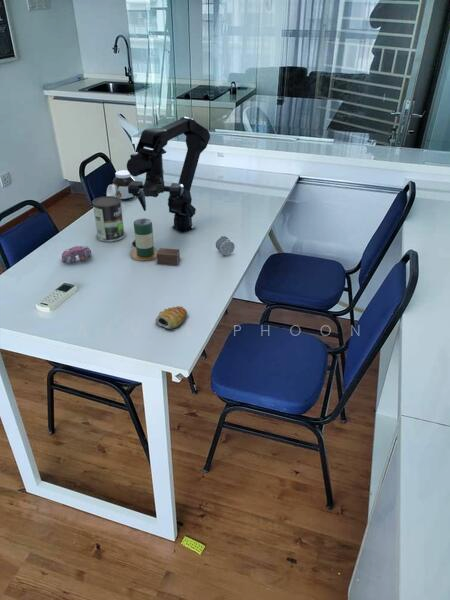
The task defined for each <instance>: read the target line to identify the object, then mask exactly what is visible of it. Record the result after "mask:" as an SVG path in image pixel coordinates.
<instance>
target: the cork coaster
mask: <svg viewBox="0 0 450 600" xmlns="http://www.w3.org/2000/svg"><path fill="white" fill-rule="evenodd" d="M158 250H159V249H157V248H155V247H154V255H152V256H150V257H139V256H138V255H137V251H136V248H135V249H133V250H132V251H131V253H130V256H131V258H132V260H136V261H139V262H150V261H153V260H155V259H156V260H157V252H158Z"/></svg>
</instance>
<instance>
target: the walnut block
mask: <svg viewBox="0 0 450 600" xmlns="http://www.w3.org/2000/svg"><path fill="white" fill-rule="evenodd" d="M157 250H158V252H157V258H156V264H157V265H164V266H165V265H166V266H178V265H179V263H180V260H181V256H180V255H181V252H180V248H166V247H165V248H163V247H159V248H158V249H157Z"/></svg>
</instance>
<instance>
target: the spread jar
mask: <svg viewBox="0 0 450 600" xmlns="http://www.w3.org/2000/svg"><path fill="white" fill-rule="evenodd" d="M114 175H115V177H114V178H113V180H112V184H109V185H108V186H107V188H106V196H114V197H118V198H120V199H121V202H129V201H132V200H133V199H135V198H136V196H133V195H132V194H129V193H128V186H129V185H130V184H131V182H132V181H136V180H135V179H134V176H132V175H131V174H130V173H129V172H128V170H127V169H126V170H125V169H123V170H118V171H116V172H115V173H114Z"/></svg>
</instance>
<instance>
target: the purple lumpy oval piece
mask: <svg viewBox="0 0 450 600" xmlns="http://www.w3.org/2000/svg"><path fill="white" fill-rule="evenodd" d="M91 255H92V249H90V246H87V245H74V246H72V247H70V248H66V249H65V250H63V251H62V253H61V260H62V261H63V262H66V261H68V262H70V263H75V262H76V261H77V257H78V260H79V261H85V260H86V258H88V257H90V256H91Z"/></svg>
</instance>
